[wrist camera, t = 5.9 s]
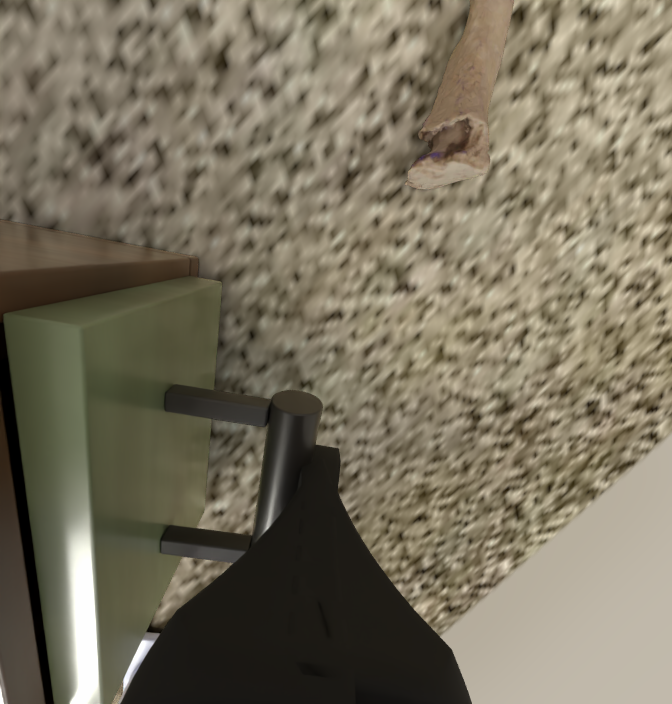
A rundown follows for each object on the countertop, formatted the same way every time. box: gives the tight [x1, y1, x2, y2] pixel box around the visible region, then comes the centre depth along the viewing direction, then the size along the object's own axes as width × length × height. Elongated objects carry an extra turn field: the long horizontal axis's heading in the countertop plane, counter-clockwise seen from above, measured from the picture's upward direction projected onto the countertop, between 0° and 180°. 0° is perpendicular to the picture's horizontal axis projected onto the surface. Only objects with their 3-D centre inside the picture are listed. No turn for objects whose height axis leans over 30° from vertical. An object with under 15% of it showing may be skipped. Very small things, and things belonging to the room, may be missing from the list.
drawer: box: [0, 276, 323, 704], centre depth 9 cm, size 17×10×7 cm, turn 79°
